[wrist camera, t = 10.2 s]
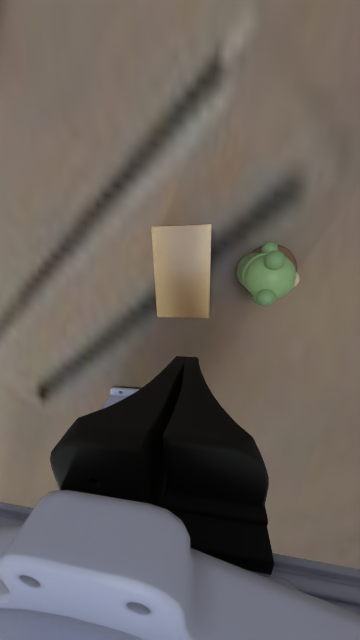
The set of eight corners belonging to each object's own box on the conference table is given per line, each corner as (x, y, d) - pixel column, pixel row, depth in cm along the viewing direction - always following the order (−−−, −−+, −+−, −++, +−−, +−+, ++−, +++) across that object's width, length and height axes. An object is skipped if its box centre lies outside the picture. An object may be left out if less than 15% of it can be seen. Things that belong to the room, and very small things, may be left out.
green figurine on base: (202, 294, 18) (265, 320, 12) (209, 237, 16) (286, 237, 11) (261, 292, 22) (328, 310, 16) (272, 245, 20) (351, 248, 15)
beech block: (163, 308, 22) (157, 317, 19) (159, 230, 19) (151, 226, 16) (209, 309, 21) (209, 318, 18) (211, 228, 18) (211, 223, 16)
